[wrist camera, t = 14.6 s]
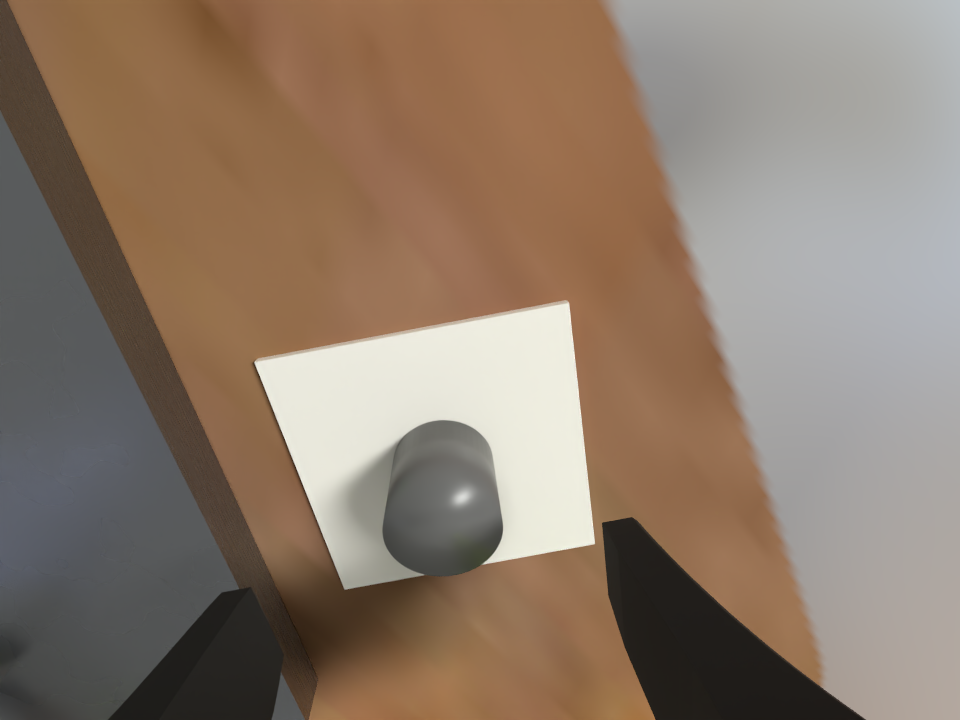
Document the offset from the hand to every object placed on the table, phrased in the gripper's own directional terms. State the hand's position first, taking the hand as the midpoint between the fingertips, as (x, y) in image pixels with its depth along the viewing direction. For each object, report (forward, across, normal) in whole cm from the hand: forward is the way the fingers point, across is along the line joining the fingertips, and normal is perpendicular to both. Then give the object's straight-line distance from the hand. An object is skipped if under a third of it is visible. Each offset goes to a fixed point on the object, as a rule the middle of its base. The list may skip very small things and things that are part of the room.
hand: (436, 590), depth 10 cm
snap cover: (+5, 0, 0) cm, 5 cm away
